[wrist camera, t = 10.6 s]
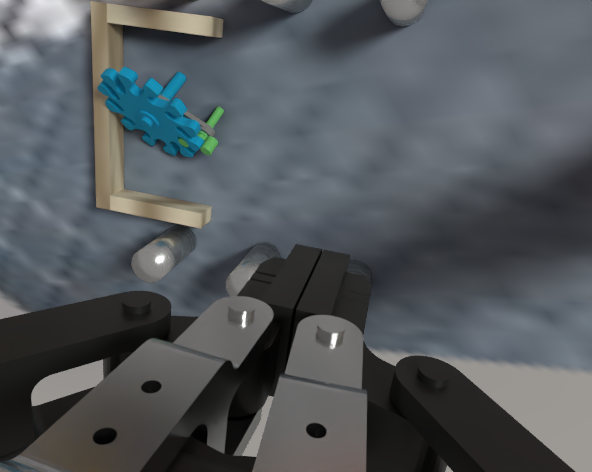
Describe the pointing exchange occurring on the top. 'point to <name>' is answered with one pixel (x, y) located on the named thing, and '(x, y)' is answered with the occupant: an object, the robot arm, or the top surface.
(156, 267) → the spacer field
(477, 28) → the top surface
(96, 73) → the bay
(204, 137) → the gear
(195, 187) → the top surface
